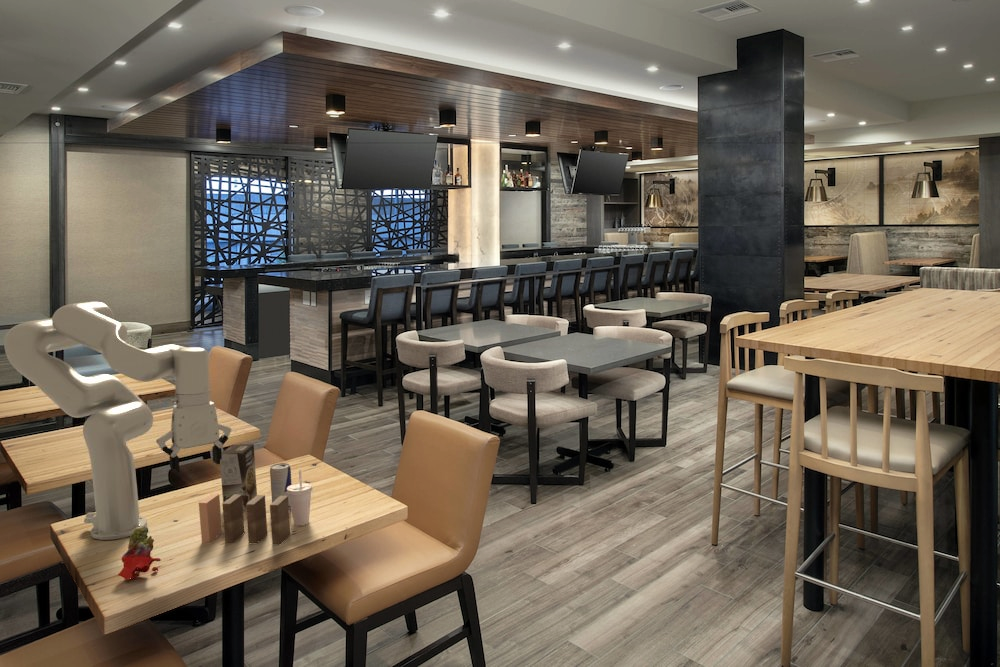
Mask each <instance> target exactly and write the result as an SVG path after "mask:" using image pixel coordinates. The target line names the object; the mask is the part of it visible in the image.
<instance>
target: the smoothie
mask: <svg viewBox="0 0 1000 667" xmlns="http://www.w3.org/2000/svg"><path fill="white" fill-rule="evenodd" d="M298 475H299V476H298V477H299V478H298V481H299V482H297V483H293V484H292V485H290V486H288V487H287V493H288V495H289V500H290V505H291V509H290V510H291V515H292V520H293V524H295V526H297V525H302V526H305V524H306V525H308V524H309V523H310V512H311V510H310V509H311V498H312V491H313V485H312V484H311V483H307V482H302V481H303V480H302V470H301V469H298Z"/></svg>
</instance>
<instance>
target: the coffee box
mask: <svg viewBox="0 0 1000 667" xmlns="http://www.w3.org/2000/svg"><path fill="white" fill-rule="evenodd" d="M254 445H255V444H254V443H243V444H241V443H240V444H232V445H230V446H229V447H227V448H225V449H224V450H223V451H221V453H222V459H220V464H219V465H220V475H221V477H220V479H221V490H222V491H221V492H222V493H221V494H222V503H224V502H225V501H226V500H228V499H229V498H230V497H232V496H233V495H234V494H238V495H242V502H243V511H246V504H247V503H248V502H249V501H251V500H252V499H253V498H254V497H255V496H257V495H258V491H257V490H258V489H257V475H256V461H255V459H256V458H255V446H254Z"/></svg>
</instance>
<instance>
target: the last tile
mask: <svg viewBox="0 0 1000 667" xmlns="http://www.w3.org/2000/svg"><path fill="white" fill-rule="evenodd" d="M269 510H270V512H269V513H270V515H269V516H270V527H271V528H270V530H271V543H272V544H281V543H282V542H283V541H284V540H285V541H286V540H287V538H288V537H290V535H291V521H290V520H291V519H290V510H289V502H288V496H279V497H278V498H277V499H276V500H275V501H274V502H273V503H272V502H271V503H270V504H269ZM285 541H284V542H285ZM284 542H283V543H284ZM283 543H282V544H283ZM272 544H271V545H272ZM282 544H281V545H282Z"/></svg>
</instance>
